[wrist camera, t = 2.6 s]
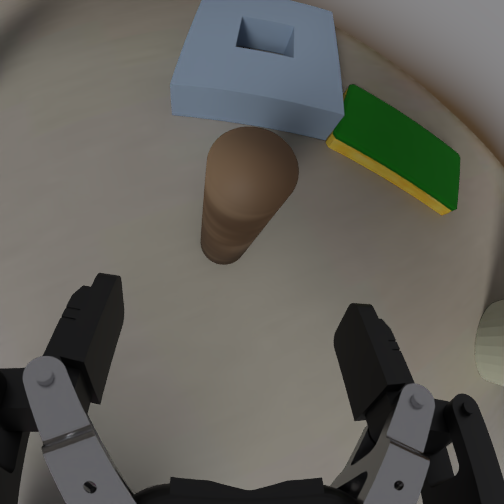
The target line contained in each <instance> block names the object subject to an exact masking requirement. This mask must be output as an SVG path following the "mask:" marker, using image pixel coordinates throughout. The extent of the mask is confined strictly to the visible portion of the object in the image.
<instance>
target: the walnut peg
mask: <svg viewBox="0 0 504 504" xmlns="http://www.w3.org/2000/svg"><path fill="white" fill-rule="evenodd" d="M298 175H299V167H298V162H297V159H296V156H295V154H294V152H293V150H292V149H291V147H290V146H289V145H288V144H287V143H286V142H285V141H284V140H283V139H282V138H281V137H280V136H278V135H276V134H275V133H273V132H271V131H269V130H266V129H263V128H258V127H240V128H235V129H232V130H230V131H228V132H226V133H224V134H223V135H221V136H220V137H219V138H218V139H217V140H216V141H215V142H214V143H213V145H212V147H211V148H210V151H209V153H208V157H207V166H206V177H205V189H204V201H203V215H202V229H201V248H202V251H203V253H204V254H205V256H206V257H207V258H208V259H209V260H211V261H212V262H214V263H217V264H231V263H233V262H235V261H237V260H238V259H239V258H240V257H241V256H242V255H243V254H244V252H245V251H246V250H247V248H248V247H249V246H250V245H251V243H252V242H253V241H254V240H255V238H256V237H257V236H258V235H259V233H260V232H261V231H262V230H263V228H264V227H265V226H266V225H267V223H268V222H269V221H270V220H271V218H272V217H273V216H274V215H275V213H276V212H277V211H278V210H279V208H280V207H281V206H282V205H283V203H284V202H285V201H286V200H287V198H288V197H289V196H290V195H291V193H292V192H293V190H294V189H295V186H296V184H297V181H298Z"/></svg>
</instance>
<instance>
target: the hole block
mask: <svg viewBox="0 0 504 504" xmlns="http://www.w3.org/2000/svg"><path fill="white" fill-rule="evenodd" d="M236 46H242V47H248V48H254V49H260V50H265V51H270V52H275V53H280V54H284V55H278V54H274V53H269V52H264V51H258V50H253V49H247V48H240V47H236ZM170 90H171V105H172V115H177V116H187V117H196V118H205V119H213V120H220V121H227V122H234V123H240V124H247V125H253V126H258V127H264V128H270V129H275V130H280V131H285V132H290V133H295V134H300V135H304V136H309V137H313V138H318V139H322V140H326V139H327V138H328V136H329V135H330V134H331V132H332V131H333V130H334V128H335V127H336V126H337V124H338V123H339V122H340V120H341V119H342V118H343V117H344V103H343V92H342V82H341V73H340V64H339V56H338V48H337V41H336V34H335V27H334V21H333V14H332V12H331V11H328V10H324V9H320V8H317V7H314V6H310V5H307V4H303V3H299V2H295V1H290V0H202V1H201V3H200V6H199V8H198V10H197V13H196V15H195V18H194V20H193V22H192V25H191V28H190V30H189V33H188V35H187V38H186V40H185V43H184V46H183V48H182V51H181V54H180V57H179V60H178V62H177V65H176V68H175V71H174V74H173V77H172V80H171V83H170Z"/></svg>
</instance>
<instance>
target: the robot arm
mask: <svg viewBox="0 0 504 504" xmlns="http://www.w3.org/2000/svg"><path fill="white" fill-rule="evenodd" d="M123 320H124V303H123V293H122V282H121V277H120V276H117V275H111V274H104V273H98V274H97V276H96V278H95V280H94V282H93V284H92V286H91V287H89V286H82V287H81V288H80V289H78V290H77V291H76V292H75V293H74V294H73V295H72V296H71V298H70V300H69V302H68V304H67V306H66V309H65V310H64V312H63V314H62V318H60V320H59V322H58V324H57V326H56V329H55V331H54V333H53V335H52V337H51V339H50V341H49V344H48V346H47V348H46V350H45V352H44V354H43V356H41V357H38V358H35V359H33V360H32V361H31V362H29V364H28V365H27V366H26V367H25V368H8V369H0V504H18V496H19V488H20V481H21V475H22V469H23V463H24V458H25V453H26V448H27V443H28V438H29V434H30V432H39V433H40V436H41V438H42V441H43V446H42V452H43V456H44V458H45V461H46V463H47V466H48V468H49V470H50V472H51V475H52V477H53V479H54V481H55V483H56V485H57V487H58V489H59V491H60V493H61V495H62V497H63V499H64V501H65V503H66V504H416V503H417V501H418V498H419V495H420V492H421V495H422V500H423V504H504V480H503V476H502V473H501V469H500V466H499V463H498V460H497V457H496V454H495V450H494V447H493V445H492V442H491V439H490V436H489V433H488V430H487V428H486V425H485V422H484V420H483V417H482V415H481V412H480V410H479V407H478V405H477V403H476V402H475V400H474V399H473V398H472V397H470V396H469V395H466V394H458V395H456V396H455V397H454V398H453V399H452V400H451V401H450V402H448V401H443V400H438V399H434V398H433V396H432V394H431V393H430V391H429V390H428V389H426V388H425V387H424V386H422V385H420V384H415V383H414V381H413V378H412V376H411V374H410V371H409V369H408V367H407V364H406V362H405V360H404V357H403V355H402V353H401V351H399V349H400V348H399V346H398V344H397V342H395V340H396V339H395V337H394V335H393V333H392V331H391V329H390V328H389V327H388V325H387V324H386V323H385V322H384V321H383V320H382V319H379V318H378V316H377V314H376V312H375V310H374V308H373V306H372V305H370V304H357V303H352V304H350V305H349V307H348V308H347V310H346V312H345V314H344V316H343V318H342V320H341V322H340V324H339V326H338V328H337V330H336V332H335V335H334V348H335V352H336V355H337V359H338V362H339V366H340V369H341V373H342V376H343V380H344V383H345V387H346V391H347V394H348V398H349V402H350V405H351V409H352V413H353V417H354V421H361V420H366V421H367V426H366V427H365V428H364V430H363V432H362V434H361V436H360V438H359V440H358V443H357V445H356V447H355V449H354V451H353V453H352V455H351V456H350V458H349V460H348V462H347V464H346V466H345V468H344V469H343V470H342V472H341V473H340V474H339V475H338V476H337V477H336V479H335V480H334V481H333V483H332V484H331V485H330V486H326V485H323V481H322V478H314V479H304V480H290V481H285V482H281V483H278V484H275V485H271V486H267V487H263V488H260V489H256V490H244V489H239V488H235V487H231V486H227V485H223V484H220V483H216V482H213V481H208V480H194V479H184V478H175V477H171V478H170V483H169V484H161V485H156V486H152V487H149V488H146V489H144V490H142V491H140V492H138V493H136V494H133V492H132V491H131V489H130V488H129V486H128V485H127V483H126V481H125V480H124V478H123V477H122V475H121V474H120V472H119V470H118V469H117V467H116V466H115V464H114V462H113V461H112V459H111V457H110V456H109V454H108V452H107V450H106V449H105V447H104V445H103V443H102V441H101V439H100V438H99V436H98V434H97V432H96V430H95V428H94V426H93V424H92V422H91V420H90V418H89V416H88V414H87V413H88V409H89V406H90V402H92V403H96V404H100V403H101V399H102V395H103V392H104V388H105V384H106V380H107V376H108V373H109V369H110V366H111V362H112V359H113V355H114V352H115V348H116V345H117V342H118V338H119V335H120V332H121V329H122V325H123ZM452 442H453V446H454V449H455V452H456V456H457V459H458V463H459V471H458V473H457V475H456V476H454V473H453V470H452V466H451V462H450V459H449V455H448V452H447V448H446V446H448V445H449V444H450V443H452Z"/></svg>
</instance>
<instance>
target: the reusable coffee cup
mask: <svg viewBox="0 0 504 504" xmlns="http://www.w3.org/2000/svg"><path fill="white" fill-rule="evenodd" d="M475 360H476V365H477V369H478V371H479V374H480V375H481V377H482V378H483V379H485V380H486V381H490V382H493V383H496V384H499V385H502V386H504V300H500V301H497V302H494V303H492V304H491V305H490V306H489V307H488V308H487V309H486V311H485V312H484V314H483V316H482V318H481V320H480V323H479V326H478V330H477V335H476V341H475Z"/></svg>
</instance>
